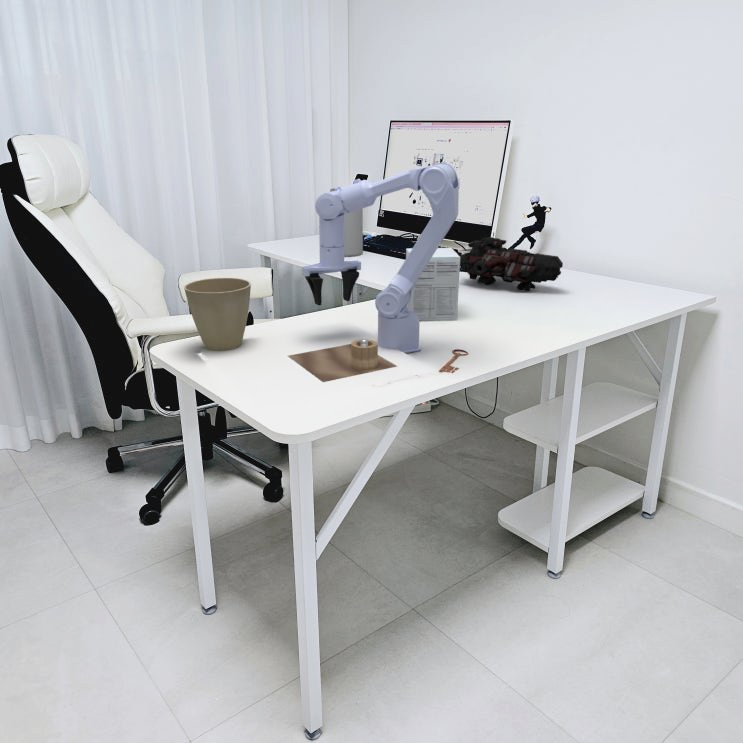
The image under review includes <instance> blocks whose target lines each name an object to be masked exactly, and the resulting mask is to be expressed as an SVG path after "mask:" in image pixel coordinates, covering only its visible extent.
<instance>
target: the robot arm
mask: <svg viewBox="0 0 743 743" xmlns="http://www.w3.org/2000/svg"><path fill="white" fill-rule="evenodd" d="M460 185H461V182H460V180H459V177H458V173H457V172H456V169H455V168H454V166H452V165H451V164H450V163H447V162H439V163H437V164H434V165H425V166H424V165H423V166H421V167H420V166H419V167H415V168H410V169H407V170H404V171H402V172H400V173H397V174H394V175H392V176H390V177H386V178H383V179H381V180H379V181H376V182H371V181H369V180H366V179H363V180H361V179H360V178H357V179H354V180H353V183H351V184H348V185H345V186H343V187H341V186H336V187H334V188H335V191H332V192H330V191H329V192H324V193H322V194H321V195H320V196H318V197H317V198H316V200H315V204H314V206H315V207H314V210H315V212H316V214H317V215H318V218H319V220H318V221H319V223H318V227H319V228H318V229H319V232H318V233H319V235H318V236H319V263H314V264H309V265H305V266H304V265H303V266H302V267H301V269H302V270H301V271H302V273H301V274H302V276H304V278H305V280H306V282H307V283H308V285H309V288H310V291H311V292H312V296H313V300H314V304H315V305H316V306H322V302H323V301H322V299H323V298H322V287H323V282H324V279H323V277H321V275H324V274H330V273H338V272H339V273H340V274H341V282H342V299H343V300H344V301H346V302H351V296H352V293H353V289H354V286H355V285H356V282H357V280H358V279H359V278H360V271H361V270H362V261H359V260H345V257H344V214H345V213H351V212H354V211H357V210H360V209H365V208H367V207H371V206H373V205H374V204H375V202H376V200H377V198H378V197H383V196H385V195H388V194H392V193H394V192H398V191H401V190H405V189H411V190H413V191H416V192H419V191H422V193H423V194H424V195H425V197H426V199H427V200H428V201H429V205H430V207H431V212H432V216H431V218H430V219H429V221H428V223H427V224H426V226H425V228H424V229H423V231H422V232H421V234H420V236H419V237H418V239H417V241H416V242H415V244H414V245H413V247H411V248H412V250H411V252H410V253H409V255H408V257H407V258H406V257H405V260H404V262H403V263H402V264H401V267H400V268H399V270H398V271H397V273H396V274H395V276H394V277H393V278H392V279H391V281H390V282H389V284H388V286H387V287H386V288H384V290H382V291H380V292H379V293H378V294H377V295H376V298H375V302H374V304H375V305H374V306H375V308H376V310H377V344H378V347H380V348H382V349H386V350H387V349H388V350H398V351H400V352H402V353H404V354H408V353H409V354H410V353H413V352H418V351H421V347H420V326H421V325H420V321H419V319H418V316H417V315H416V313H415V312H413V311H408V308H407V304H408V303H409V302H410V299H411V293H412V289H413V288H414V286H415V284H416V281H417V280H418V278H419V276H420V275H421V273H422V272H423V270H424V269H425V267H426V265H427V264H428V262H429V261H430V259H431V258H432V256H433V254H434V253H435V251H436V250H437V248H439V247H440V245H441V243H442V242H443V240H444V238H445V237H446V235H447V234H448V232H449V231H450V229H451V227H452V226H453V224H454V223H455V221H456V219H457V217H458V215H459V201H460V200H459V198H460V197H459V196H460V194H459V193H460V192H459V190H460Z"/></svg>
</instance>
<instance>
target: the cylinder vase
mask: <svg viewBox="0 0 743 743" xmlns="http://www.w3.org/2000/svg"><path fill="white" fill-rule="evenodd" d="M335 188H336V187H334V188H330V189H329V192H332V191H335ZM363 209H364V208H363ZM363 209H360V210H357V211H354V212H351V213H345V214H344V258H345V257H348V258H349V257H351V258H352V257H359V256H361V255H362V254H363V252H364V248H363V247H364V244H363V242H364V240H363V237H364V234H363V228H364V227H363V224H364V222H363V218H364V215H363V212H364V211H363Z"/></svg>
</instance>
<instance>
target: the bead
mask: <svg viewBox="0 0 743 743" xmlns="http://www.w3.org/2000/svg"><path fill="white" fill-rule="evenodd" d="M361 340H362V339H357V340H356V339H355V340H354V341H352V342H350V344H351V365H352V367H353V368H354V369H358V370H371V369H374V368H376V367H377V366H378V355H379V354H378V350H379V345H378V341H375V340H373V339H366V340H367V341H368V346H361Z"/></svg>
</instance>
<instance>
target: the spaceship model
mask: <svg viewBox="0 0 743 743" xmlns="http://www.w3.org/2000/svg"><path fill="white" fill-rule="evenodd" d="M505 244H507V240H505V239H500V238H498V237H493V236H489V237H482V238H481V240H472V241H471V242H469V243H468V244H467V246H468V248H471V249H470V251H469V252H468V251H467V252H464V253H462V254H461V255H460V269H461V270H462V271H463V272H464V273H467V275H469V279H470V280H477V283H478V284H482V285H483V284H484V285H485V286H491V285H493V284H495V282H496V278H501V280H502V281H503V283H514V282H519V283H518V284H517V286H516V289H517V291H520V292H522V291H524V292H530V291H531V289H533V290H534V289H536V284H534V283H537V284H541V283H542V282H544V283H546V282H548V281H550V282H551V281H552V282H554V281H555V280H557V279H558V278H559V276H560V275H561V274H562V271H561V269H562V268H563V267H564V266H563V264H564V262H563V261H562V259H560V257H559V256H558V255H550V254H543V253H539V252H537V253H532V252H530V251H528V250H525V249H516V248H511V247H510V248H507V247H503V246H504V245H505ZM495 277H496V278H495ZM477 278H478V279H477Z"/></svg>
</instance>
